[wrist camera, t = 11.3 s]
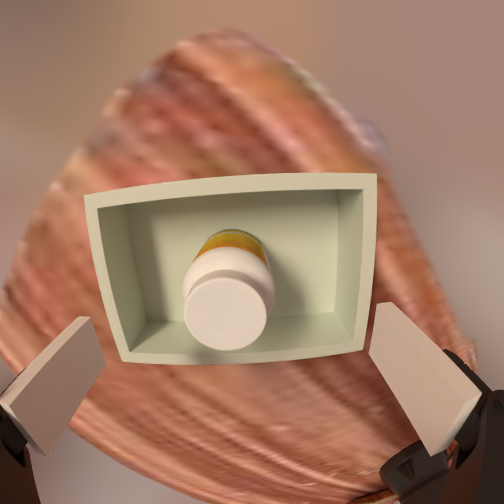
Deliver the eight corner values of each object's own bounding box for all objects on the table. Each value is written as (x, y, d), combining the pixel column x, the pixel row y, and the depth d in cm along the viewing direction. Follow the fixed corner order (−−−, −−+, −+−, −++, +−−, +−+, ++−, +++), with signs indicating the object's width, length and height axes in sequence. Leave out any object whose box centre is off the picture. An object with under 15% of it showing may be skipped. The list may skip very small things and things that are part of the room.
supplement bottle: (277, 275, 22) (298, 340, 13) (218, 300, 23) (204, 374, 13) (249, 215, 21) (253, 244, 12) (188, 244, 21) (149, 291, 12)
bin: (340, 314, 25) (362, 349, 19) (144, 325, 24) (122, 361, 19) (344, 173, 21) (376, 173, 15) (120, 189, 21) (83, 195, 15)
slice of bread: (415, 482, 43) (419, 491, 39) (361, 509, 45) (364, 517, 42) (406, 472, 39) (410, 482, 35) (340, 503, 41) (343, 513, 38)
